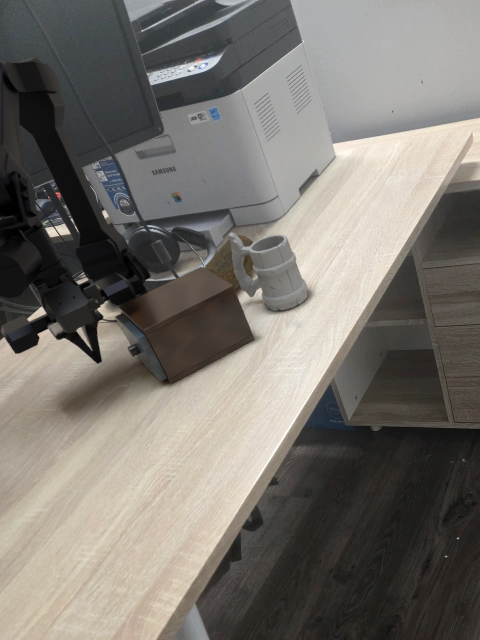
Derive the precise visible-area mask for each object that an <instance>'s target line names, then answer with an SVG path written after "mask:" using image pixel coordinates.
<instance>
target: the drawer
mask: <svg viewBox="0 0 480 640" xmlns="http://www.w3.org/2000/svg"><path fill="white" fill-rule="evenodd" d="M114 318H115V320H116V322H117V323H118V325H119V327H120V329H121V331H122V332H123V334H124V336H125V338H126V340H127V342H128V343H129V346H126V347H127V351H128V352H129V354H130V355H131V357H133V358H134V357H136V358H137V359H138V360H139V361H140V362H141V364H143V365H144V366H145V367H146V368H147V369H148V371H150V372H151V373H152V374H153V376H154V377H156V379H158V380H159V382H162V381H165V379H166V378H167V375H166V374H165V372H164V370H163V368H162V366H161V364H160V362H159V360H158V358H157V356H156V355H155V353H154V351H153V349H152V347H151V345H150V343H149V341H148V339H147V337H146V336H145V333H143V332H141V331H140V330H139V329H138V328H137V327H136V326H135V325H134V324H133V323H132V322H131V321H130V320H128V319H127V318H126V317H125V316H124V315H123V314H122V313H121V312H120V314H117V315H115V316H114ZM166 380H167V379H166Z"/></svg>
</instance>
